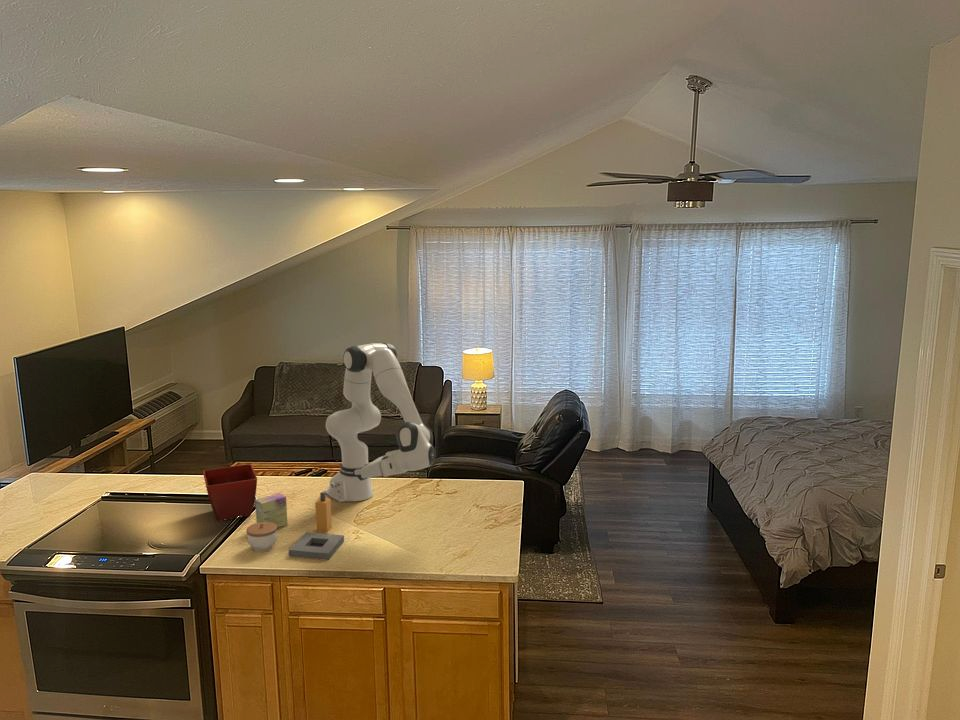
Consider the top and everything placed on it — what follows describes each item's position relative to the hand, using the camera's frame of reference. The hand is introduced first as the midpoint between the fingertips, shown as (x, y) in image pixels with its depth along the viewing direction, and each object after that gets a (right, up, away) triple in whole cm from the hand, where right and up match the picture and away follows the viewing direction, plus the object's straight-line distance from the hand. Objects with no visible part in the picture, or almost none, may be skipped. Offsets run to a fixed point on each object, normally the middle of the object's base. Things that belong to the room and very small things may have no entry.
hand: (360, 469), depth 278 cm
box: (-36, -24, +8) cm, 43 cm away
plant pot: (-55, -21, +20) cm, 62 cm away
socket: (-14, -27, -11) cm, 33 cm away
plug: (-15, -24, +5) cm, 29 cm away
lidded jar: (-34, -27, -10) cm, 45 cm away
